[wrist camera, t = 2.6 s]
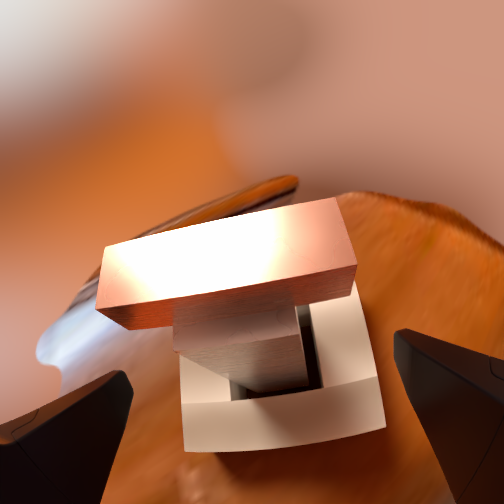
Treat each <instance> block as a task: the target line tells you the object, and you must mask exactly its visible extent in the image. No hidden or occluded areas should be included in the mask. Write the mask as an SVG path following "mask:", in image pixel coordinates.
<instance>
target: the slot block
mask: <svg viewBox="0 0 504 504" xmlns="http://www.w3.org/2000/svg"><path fill="white" fill-rule="evenodd" d="M296 309H297V315H298V320H299V325H300V327H305V326H310V325H311V331H312V336H313V342H314V348H315V353H316V359H317V365H318V371H319V378H320V384H321V389H316V390H311V391H305V392H299V393H293V394H287V395H280V396H272V397H264V398H256V399H247V389H246V387H244V386H241V385H239V384H237V383H235V382H233V381H231V380H229V379H226V378H224V377H222V376H220V375H218V374H216V373H214V372H212V371H210V370H208V369H206V368H204V367H202V366H200V365H198V364H196V363H194V362H193V361H191V360H189V359H187V358H185V357H183V356H181V355H180V384H181V405H182V422H183V436H184V448H185V452H233V451H251V450H264V449H274V448H283V447H291V446H299V445H306V444H312V443H318V442H324V441H329V440H334V439H339V438H344V437H348V436H353V435H357V434H361V433H365V432H369V431H373V430H377V429H380V428H384V427H386V421H385V415H384V409H383V403H382V398H381V392H380V387H379V381H378V376H377V371H376V366H375V362H374V357H373V352H372V348H371V343H370V339H369V335H368V331H367V326H366V322H365V318H364V314H363V310H362V306H361V303H360V299H359V295H358V291H357V288H356V284H355V281H354V282H353V286H352V291H351V295H350V296H347V297H342V298H337V299H332V300H328V301H323V302H318V303H313V304H307V305H302V306H297V307H296Z"/></svg>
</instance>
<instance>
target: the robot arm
mask: <svg viewBox="0 0 504 504" xmlns="http://www.w3.org/2000/svg"><path fill="white" fill-rule="evenodd" d="M394 360H395V363H396V365H397V368H398V371H399V373H400V376H401V379H402V382H403V384H404V387H405V390H406V393H407V395H408V398H409V400H410V402H411V404H412V406H413V408H414V410H415V412H416V414H417V416H418V418H419V420H420V422H421V425H422V427H423V429H424V431H425V433H426V435H427V437H428V439H429V441H430V444H431V446H432V448H433V450H434V452H435V455H436V457H437V459H438V461H439V464H440V466H441V468H442V470H443V473H444V475H445V478H446V480H447V482H448V485H449V487H450V490H451V492H452V494H453V497H454V500H455V502H456V503H457V504H504V360H501V359H498V358H495V357H491V356H490V357H489V356H488V355H485V354H482V353H479V352H476V351H473V350H470V349H467V348H464V347H461V346H458V345H455V344H452V343H449V342H446V341H443V340H440V339H437V338H434V337H431V336H428V335H425V334H422V333H419V332H416V331H413V330H410V329H407V328H405V329H402V330H398V331H396V332H395V333H394ZM133 395H134V392H133V388H132V386H131V384H130V382H129V380H128V378H127V375H126V374H125V372H124V371H122V370H113V371H111V372H109V373H107V374H105V375H103V376H101V377H99V378H97V379H95V380H94V381H92V382H90V383H88V384H86V385H84V386H82V387H80V388H78V389H76V390H74V391H72V392H70V393H68V394H66V395H64V396H62V397H60V398H58V399H56V400H54V401H52V402H50V403H48V404H46V405H44V406H42V407H40V409H39V408H38V409H36V410H34V411H32V412H30V413H28V414H25V415H23V416H21V417H19V418H16V419H14V420H11V421H9V422H7V423H4V424H1V425H0V504H100V502H101V499H102V496H103V493H104V490H105V486H106V483H107V480H108V477H109V474H110V471H111V468H112V465H113V462H114V459H115V456H116V453H117V450H118V447H119V445H120V442H121V439H122V436H123V433H124V430H125V427H126V423H127V419H128V415H129V411H130V407H131V403H132V399H133Z"/></svg>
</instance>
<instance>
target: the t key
mask: <svg viewBox="0 0 504 504" xmlns="http://www.w3.org/2000/svg"><path fill="white" fill-rule="evenodd" d="M356 269H357V261H356V258H355V255H354V251H353V248H352V245H351V242H350V239H349V236H348V233H347V230H346V227H345V224H344V221H343V218H342V216H341V213H340V210H339V207H338V204H337V202H336V199H335V197H333V198H328V199H322V200H317V201H312V202H306V203H301V204H296V205H290V206H285V207H280V208H275V209H270V210H265V211H260V212H255V213H251V214H246V215H241V216H236V217H231V218H227V219H222V220H218V221H213V222H208V223H204V224H199V225H195V226H191V227H186V228H182V229H178V230H173V231H169V232H165V233H160V234H156V235H152V236H148V237H144V238H140V239H136V240H132V241H128V242H124V243H120V244H116V245H112V246H108V247H105V251H104V256H103V262H102V267H101V273H100V279H99V285H98V292H97V299H96V306H95V309H96V310H97V311H99V312H100V313H102V314H103V315H105V316H107V317H108V318H110V319H111V320H113V321H115V322H116V323H118V324H119V325H121V326H123V327H124V328H126V329H128V330H138V329H148V328H157V327H166V326H173V351H174V352H176V353H178V354H179V355H181V356H183V357H185V358H187V359H189V360H191V361H193V362H194V363H196V364H198V365H200V366H202V367H204V368H206V369H208V370H210V371H212V372H214V373H216V374H218V375H220V376H222V377H224V378H226V379H229V380H231V381H233V382H235V383H237V384H239V385H241V386H244V387H246V388H248V389H250V390H253V391H255V392H257V393H261V392H269V391H277V390H284V389H290V388H296V387H302V386H308V385H309V381H308V374H307V368H306V361H305V355H304V349H303V343H302V337H301V331H300V325H299V320H298V315H297V309H296V307H297V306H302V305H307V304H313V303H318V302H323V301H328V300H332V299H337V298H342V297H347V296H350V295H351V291H352V286H353V282H354V278H355V273H356Z"/></svg>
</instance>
